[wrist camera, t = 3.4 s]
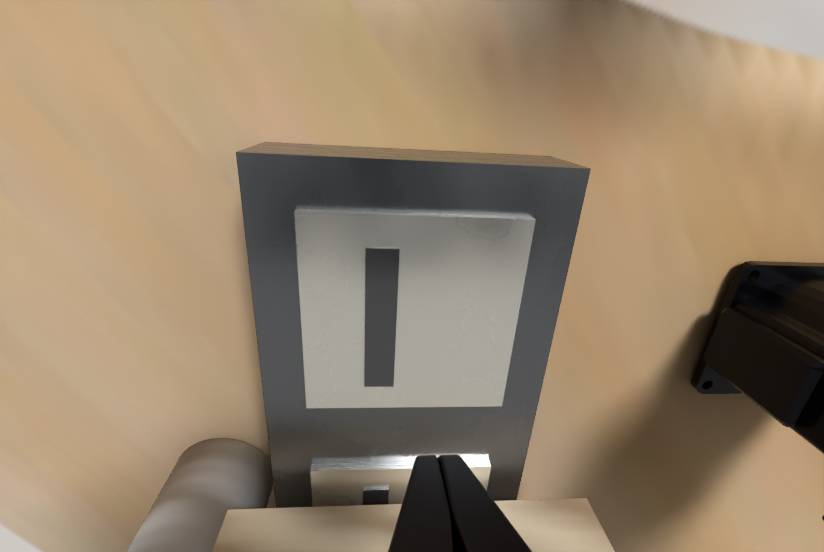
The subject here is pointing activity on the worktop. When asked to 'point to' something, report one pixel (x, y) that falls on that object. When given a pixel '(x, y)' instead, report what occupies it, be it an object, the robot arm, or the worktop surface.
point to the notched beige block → (313, 513)
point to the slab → (402, 310)
